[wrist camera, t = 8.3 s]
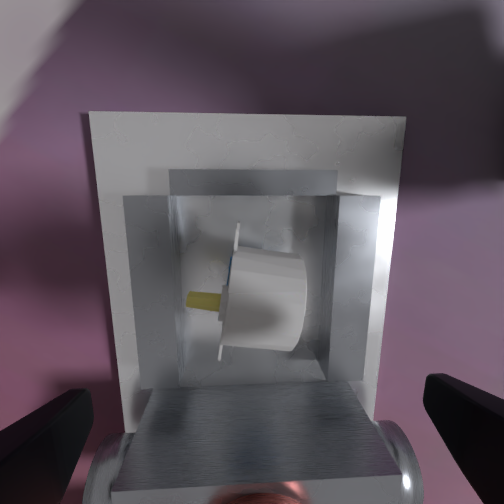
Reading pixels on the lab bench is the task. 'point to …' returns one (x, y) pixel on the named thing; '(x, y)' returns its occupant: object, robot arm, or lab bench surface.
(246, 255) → the electric motor
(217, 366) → the grey metal assembly fixture
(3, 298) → the lab bench surface
